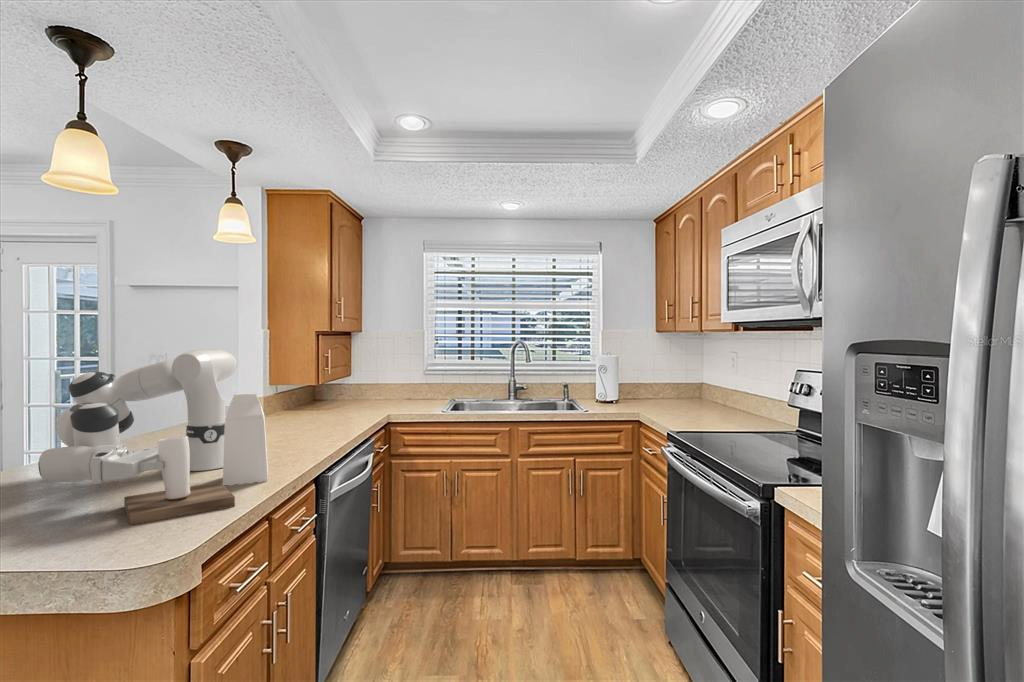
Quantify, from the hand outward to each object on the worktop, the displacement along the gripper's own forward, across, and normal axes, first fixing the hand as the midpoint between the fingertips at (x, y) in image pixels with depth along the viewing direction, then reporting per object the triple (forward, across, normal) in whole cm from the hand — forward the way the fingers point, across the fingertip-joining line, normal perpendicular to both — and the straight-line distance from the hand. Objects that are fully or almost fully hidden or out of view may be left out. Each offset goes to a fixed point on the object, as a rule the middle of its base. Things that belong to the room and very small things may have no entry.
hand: (172, 460), depth 140 cm
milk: (+9, -26, -12) cm, 30 cm away
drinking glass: (+2, +1, -9) cm, 10 cm away
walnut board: (+2, 0, -12) cm, 12 cm away
